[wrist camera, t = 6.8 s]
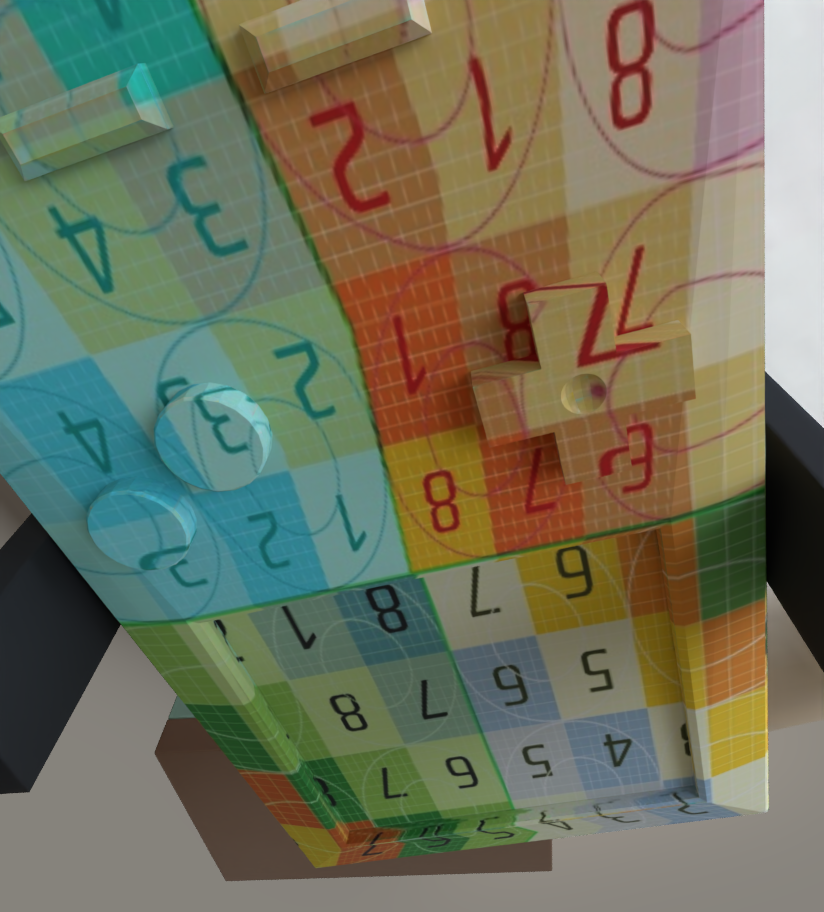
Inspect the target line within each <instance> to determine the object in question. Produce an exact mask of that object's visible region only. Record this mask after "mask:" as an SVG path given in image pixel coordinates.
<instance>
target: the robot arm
mask: <svg viewBox="0 0 824 912" xmlns="http://www.w3.org/2000/svg"><path fill="white" fill-rule="evenodd" d="M765 476H766V574H767V580H766V581H767V582H768V584H769V586H770V587H771V589H772V590H773V592H774V594H775V595H776V597H777V598H778V600H779V602H780V603H781V605H782V606H783V608H784V610H785V611H786V613H787V614H788V616H789V618H790V619H791V621H792V622H793V624H794V626H795V627H796V629H797V630H798V632H799V634H800V635H801V637H802V638H803V640H804V642H805V643H806V645H807V646H808V648H809V650H810V651H811V653H812V654H813V656H814V658H815V659H816V661H817V662H818V664H819V665H820V667H821V669H822V670H823V672H824V428H823V427H822V426H821V425H820V424H819V423H818V422H817V421H816V420H815V419H814V418H813V417H811V416H810V415H809V414H808V413H807V412H806V411H805V410H804V409H803V408H802V407H801V406H800V405H799V404H798V403H797V402H796V401H795V400H794V399H793V398H792V397H791V396H790V395H789V394H788V393H787V392H786V391H785V390H784V389H783V388H782V387H781V386H780V385H779V384H778V383H777V382H775V381H774V380H773V379H772V378H771V377H770V376H769V375H768V374H767V373H766V372H765ZM120 625H121V624H120V623H119V621H118V620H117V619H116V618H115V616H114V615H113V614H112V613H111V611H110V610H109V609H108V608H107V606H106V605H105V604H104V603H103V601H102V600H101V599H100V598H99V596H98V595H97V594H96V593H95V591H94V590H93V589H92V588H91V586H90V585H89V584H88V583H87V581H86V580H85V579H84V578H83V576H82V575H81V574H80V573H79V571H78V570H77V569H76V567H75V566H74V565H73V564H72V562H71V561H70V560H69V559H68V557H67V556H66V555H65V554H64V552H63V551H62V550H61V549H60V547H59V546H58V545H57V544H56V542H55V541H54V540H53V539H52V537H51V536H50V535H49V534H48V532H47V531H46V530H45V529H44V527H43V526H42V525H41V524H40V522H39V521H38V520H37V519H36V517H35V516H34V515H33V514H32V513H31V515H30V516H29V517H28V518H27V519H26V521H24V523H23V524H22V525H21V526H20V527H19V529H18V530H17V531H16V532H15V533H14V534H13V535H12V536H11V538H10V539H9V540H8V541H7V542H6V543H5V545H4V546H3V547H2V548H1V549H0V794H6V793H22V792H23V793H24V792H30V790H31V788H32V786H33V784H34V782H35V781H36V779H37V777H38V775H39V773H40V771H41V770H42V768H43V766H44V764H45V762H46V760H47V759H48V757H49V755H50V753H51V751H52V749H53V748H54V746H55V744H56V742H57V740H58V738H59V737H60V735H61V733H62V731H63V729H64V727H65V726H66V724H67V722H68V720H69V718H70V716H71V714H72V713H73V711H74V709H75V707H76V705H77V703H78V702H79V700H80V698H81V696H82V694H83V692H84V691H85V689H86V687H87V685H88V683H89V682H90V680H91V678H92V676H93V674H94V672H95V670H96V669H97V667H98V665H99V663H100V661H101V659H102V658H103V656H104V654H105V652H106V650H107V648H108V647H109V645H110V643H111V641H112V639H113V637H114V636H115V634H116V632H117V630H118V628H119V626H120Z"/></svg>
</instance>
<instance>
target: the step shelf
mask: <svg viewBox="0 0 824 912" xmlns="http://www.w3.org/2000/svg"><path fill="white" fill-rule="evenodd" d="M155 755H156V757H157V759H158V761H159V762H160V764H161V766H162V768H163V770H164V771H165V773H166V775H167V777H168V778H169V780H170V782H171V784H172V786H173V788H174V789H175V791H176V793H177V795H178V796H179V798H180V800H181V802H182V804H183V805H184V807H185V809H186V811H187V813H188V814H189V816H190V818H191V820H192V821H193V823H194V825H195V827H196V829H197V830H198V832H199V834H200V836H201V838H202V839H203V841H204V843H205V845H206V847H207V848H208V850H209V852H210V854H211V856H212V857H213V859H214V861H215V862H216V864H217V866H218V868H219V869H220V872H221V873H222V875H223V877H224V879H225V880H226V881H240V880H241V881H243V880H276V879H305V878H306V879H309V878H339V877H373V876H404V875H438V874H468V873H501V872H535V871H552V839H547V840H539V841H531V842H523V843H515V844H507V845H499V846H491V847H483V848H475V849H467V850H458V851H450V852H442V853H434V854H426V855H418V856H410V857H402V858H394V859H386V860H378V861H369V862H361V863H353V864H345V865H337V866H329V867H321V868H315V867H314V865H313V864H312V863H311V862H310V860H309V859H308V858H307V857H306V855H305V854H304V853H303V852H302V850H301V849H300V848H299V847H298V845H297V844H296V843H295V842H294V840H293V839H292V838H291V837H290V835H289V834H288V833H287V832H286V830H285V829H284V828H283V827H282V825H281V824H280V823H279V822H278V820H277V819H276V818H275V817H274V815H273V814H272V813H271V812H270V810H269V809H268V808H267V807H266V805H265V804H264V803H263V802H262V800H261V799H260V798H259V797H258V795H257V794H256V793H255V792H254V790H253V789H252V788H251V787H250V785H249V784H248V783H247V782H246V780H245V779H244V778H243V777H242V775H241V774H240V773H239V772H238V770H237V769H236V768H235V767H234V765H233V764H232V763H231V762H230V760H229V759H228V758H227V757H226V755H225V754H224V753H223V752H222V750H221V749H220V748H219V747H218V745H217V744H216V743H215V742H214V740H213V739H212V738H211V737H210V735H209V734H208V733H207V732H206V730H205V729H204V728H203V727H202V725H201V724H200V723H199V721H198V720H197V719H196V718H195V716H194V715H193V714H192V713H191V711H190V710H189V709H188V708H187V706H186V705H185V704H184V703H183V701H182V700H181V699H180V698H179V696H178V695H177V697H176V700H175V702H174V705H173V707H172V710H171V712H170V715H169V720H167V722H166V725H165V728H164V730H163V732H162V735H161V737H160V740H159V743H158V745H157V747H156V750H155Z"/></svg>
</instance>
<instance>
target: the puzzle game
mask: <svg viewBox="0 0 824 912" xmlns="http://www.w3.org/2000/svg"><path fill="white" fill-rule="evenodd" d="M0 474H1V475H2V476H3V477H4V479H5V480H6V481H7V482H8V484H9V485H10V486H11V487H12V488H13V490H14V491H15V492H16V493H17V495H18V496H19V497H20V499H21V500H22V501H23V502H24V504H25V505H26V506H27V507H28V509H29V510H30V511H31V512H32V514H33V515H34V516H35V517H36V519H37V520H38V521H39V522H40V524H41V525H42V526H43V527H44V529H45V530H46V531H47V532H48V534H49V535H50V536H51V537H52V539H53V540H54V541H55V542H56V544H57V545H58V546H59V547H60V549H61V550H62V551H63V552H64V554H65V555H66V556H67V557H68V559H69V560H70V561H71V562H72V564H73V565H74V566H75V567H76V569H77V570H78V571H79V573H80V574H81V575H82V576H83V578H84V579H85V580H86V581H87V583H88V584H89V585H90V586H91V588H92V589H93V590H94V591H95V593H96V594H97V595H98V596H99V598H100V599H101V600H102V601H103V603H104V604H105V605H106V606H107V608H108V609H109V610H110V611H111V613H112V614H113V615H114V616H115V618H116V619H117V620H118V621H119V623H120V624H121V625H122V626H123V628H124V629H125V630H126V631H127V632H128V633H129V635H130V636H131V638H132V639H133V640H134V641H135V643H136V644H137V645H138V646H139V648H140V649H141V650H142V651H143V653H144V654H145V655H146V656H147V658H148V659H149V660H150V661H151V663H152V664H153V665H154V666H155V667H156V669H157V670H158V671H159V673H160V674H161V675H162V676H163V678H164V679H165V680H166V681H167V683H168V684H169V685H170V686H171V688H172V689H173V690H174V691H175V693H176V694H177V695H178V696H179V698H180V699H181V700H182V701H183V703H184V704H185V705H186V706H187V708H188V709H189V710H190V711H191V713H192V714H193V715H194V716H195V718H196V719H197V720H198V721H199V723H200V724H201V725H202V727H203V728H204V729H205V730H206V732H207V733H208V734H209V735H210V737H211V738H212V739H213V740H214V742H215V743H216V744H217V745H218V747H219V748H220V749H221V750H222V752H223V753H224V754H225V755H226V757H227V758H228V759H229V760H230V762H231V763H232V764H233V765H234V767H235V768H236V769H237V770H238V772H239V773H240V774H241V775H242V777H243V778H244V779H245V780H246V782H247V783H248V784H249V785H250V787H251V788H252V789H253V790H254V792H255V793H256V794H257V795H258V797H259V798H260V799H261V800H262V802H263V803H264V804H265V805H266V807H267V808H268V809H269V810H270V812H271V813H272V814H273V815H274V817H275V818H276V819H277V820H278V822H279V823H280V824H281V825H282V827H283V828H284V829H285V830H286V832H287V833H288V834H289V835H290V837H291V838H292V839H293V840H294V842H295V843H296V844H297V845H298V847H299V848H300V849H301V850H302V852H303V853H304V854H305V855H306V857H307V858H308V859H309V860H310V862H311V863H312V864H313V865H314V867H315V868H321V867H329V866H337V865H345V864H353V863H361V862H369V861H378V860H386V859H394V858H402V857H410V856H418V855H426V854H434V853H442V852H450V851H458V850H467V849H475V848H483V847H491V846H499V845H507V844H515V843H523V842H531V841H539V840H547V839H556V838H564V837H572V836H580V835H588V834H596V833H604V832H612V831H620V830H628V829H636V828H644V827H653V826H661V825H669V824H677V823H685V822H693V821H701V820H709V819H716V818H725V817H734V816H741V815H749V814H758V813H765V812H767V811H768V810H769V779H768V778H769V775H768V774H769V772H768V673H767V581H766V580H767V574H766V476H765V234H764V0H0Z"/></svg>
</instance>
